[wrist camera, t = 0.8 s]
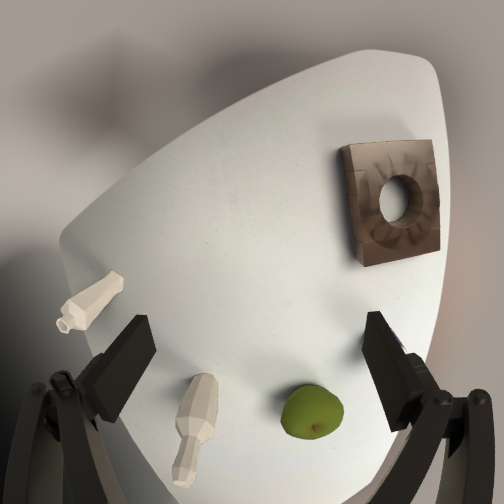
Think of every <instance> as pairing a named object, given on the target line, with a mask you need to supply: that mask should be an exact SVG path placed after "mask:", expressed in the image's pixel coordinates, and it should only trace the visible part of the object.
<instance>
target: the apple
mask: <svg viewBox="0 0 504 504" xmlns="http://www.w3.org/2000/svg"><path fill="white" fill-rule="evenodd" d="M343 415H344V409H343V405H342V403H341V402H340V400H339V399H338V397H337V396H335V395H334V394H332V393H331V392H329V391H328V390H326V389H325V388H324V387H321V386H318V385H307V386H302V387H300V388H298V389H296V390H295V391H294V392H293V393H292V394H291V395H290V397H289V398H288V400H287V402H286V403H285V405H284V409H283V412H282V416H281V421H280V422H281V424H282V426H283V428H284V430H285V432H286V433H287V434H289V435H291V436H293V437H296V438H300V439H306V440H314V439H317V438H321V437H323V436H325V435H328V434H330V433H331V432H333V431H334V430H335V429H337V428H338V427H339V426H340V423H341V421H342V418H343Z"/></svg>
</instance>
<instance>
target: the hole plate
mask: <svg viewBox="0 0 504 504" xmlns="http://www.w3.org/2000/svg"><path fill="white" fill-rule="evenodd" d="M341 153H342V159H343V164H344V170H345V176H346V183H347V189H348V194H347V197H348V204H349V212H350V215H351V220H352V229H353V239H354V250H355V259H356V260H357V261H358V262H360V263H361V264H362V265H363V266H364V267H367V266H372V265H377V264H382V263H386V262H391V261H395V260H400V259H404V258H409V257H413V256H418V255H422V254H426V253H431V252H435V251H439V250H440V211H439V207H440V198H439V187H438V184H437V174H436V166H435V158H434V151H433V145H432V140H404V141H386V142H372V143H360V144H349V145H346V146H343V147H341ZM394 175H396V176H399V177H400V178H401V179H402V180H403V181H404V182H405V183H406V186H407V188H408V190H409V197H410V202H409V206H408V209H407V211H406V212H405V214H404V215H403V217H401V218H400V219H398V220H397V221H394V222H387V221H386V220H385V219H384V217H383V215H382V213H381V211H380V204H379V197H380V193H381V188H382V187H383V185H384V184H385V182H386V181H387V180H388V179H390V178H391V177H393V176H394Z"/></svg>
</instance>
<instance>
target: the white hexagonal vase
mask: <svg viewBox="0 0 504 504" xmlns="http://www.w3.org/2000/svg"><path fill="white" fill-rule="evenodd" d="M123 281H124V278H123V277H121V276H120V275H119V274H117V273H116V272H115V271H113V270H111V271H110V272H109V273H108V274H107V275H106V276H105V277H104V278H103V279H101V280H100V281H98V282H96V283H94V284H93V285H91V286H89V287H88V288H86V289H84V290H83V291H81V292H80V293H78V294H76V295H75V296H73V297H71V298H70V299H68V300H67V301H66V303H65V304H64V305H63V306H62V307H61V309H60V310H61V312H62V314H63V317H62V318H59V319H58V320H57V322H56V325H57V326H58V328H59V330H60V331H61V332H62V333H69V330H70V329H77V330H84V331H85V330H86V329H87V328H88V327H89V326H90V324H91V323H92V322H93V321H94V319H95V318H96V317H97V316H98V315H99V313H100V312H101V311H102V310H103V308H104V307H105V306H106V305H107V304H108V303H109V301H110V300H111V299H112V298H113V297H114V296H115V294H116V293H119V292H122V291H123Z"/></svg>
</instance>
